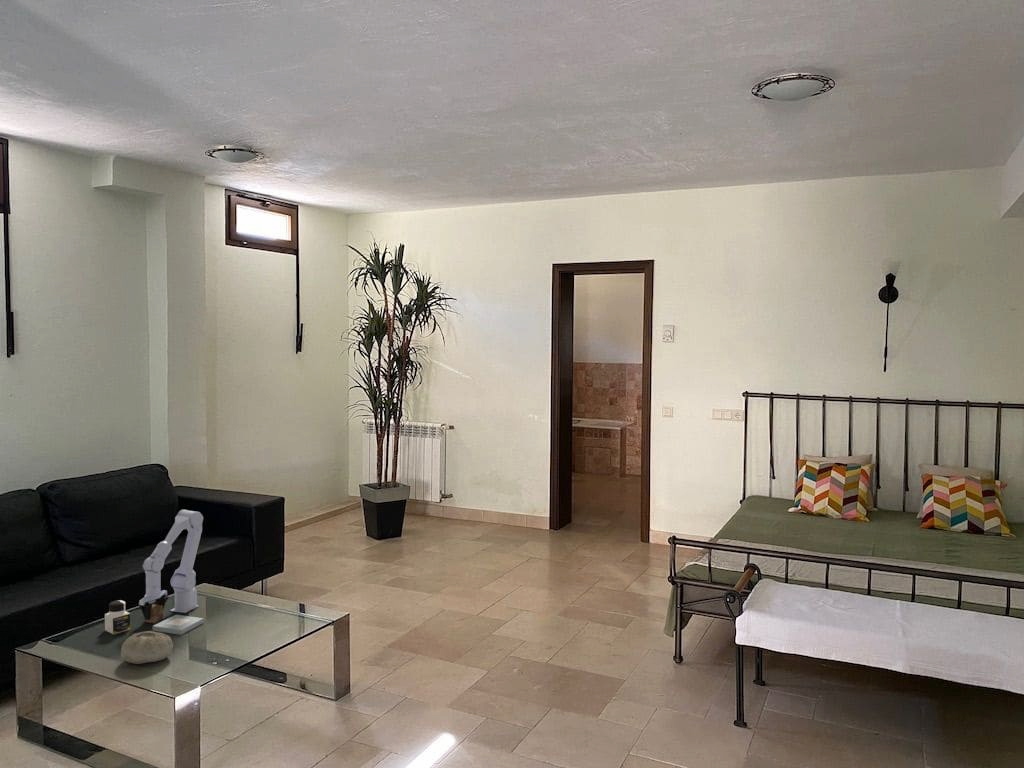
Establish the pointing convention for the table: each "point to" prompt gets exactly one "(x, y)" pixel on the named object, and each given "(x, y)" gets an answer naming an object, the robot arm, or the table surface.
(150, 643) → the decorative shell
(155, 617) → the walnut block
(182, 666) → the table surface
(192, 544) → the robot arm
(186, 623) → the base board
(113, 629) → the medicine bottle
